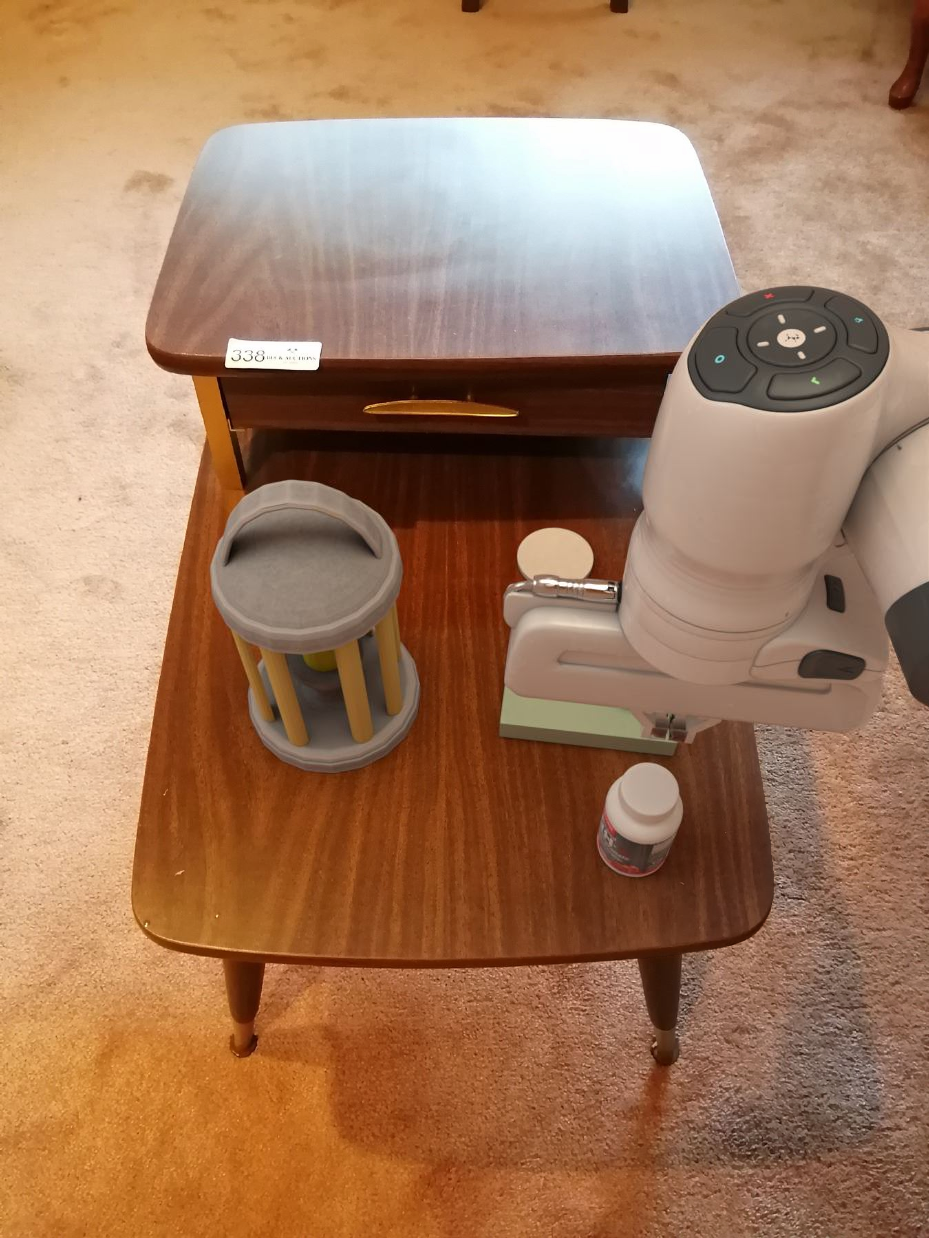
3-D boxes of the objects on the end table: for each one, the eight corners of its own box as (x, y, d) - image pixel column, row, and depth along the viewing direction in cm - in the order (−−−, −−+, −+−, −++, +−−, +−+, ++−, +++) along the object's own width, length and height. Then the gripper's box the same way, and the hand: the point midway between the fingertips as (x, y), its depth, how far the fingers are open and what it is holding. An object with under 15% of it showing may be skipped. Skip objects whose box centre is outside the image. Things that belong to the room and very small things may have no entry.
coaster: (595, 535, 93) (595, 531, 92) (590, 594, 89) (591, 590, 88) (520, 528, 93) (521, 524, 93) (513, 586, 89) (513, 582, 89)
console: (674, 634, 86) (682, 607, 83) (673, 756, 79) (681, 731, 76) (514, 618, 87) (516, 590, 84) (499, 736, 80) (500, 711, 77)
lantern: (418, 623, 87) (399, 408, 66) (423, 768, 78) (403, 572, 58) (256, 632, 86) (188, 418, 66) (244, 778, 78) (162, 584, 58)
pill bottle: (581, 845, 75) (593, 788, 67) (626, 798, 77) (643, 737, 69) (637, 894, 72) (657, 840, 64) (682, 844, 74) (706, 786, 67)
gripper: (496, 623, 49) (492, 756, 60) (924, 669, 47) (837, 797, 58) (510, 527, 52) (504, 669, 63) (907, 566, 50) (828, 705, 62)
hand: (666, 731), depth 61 cm, fingers closed
